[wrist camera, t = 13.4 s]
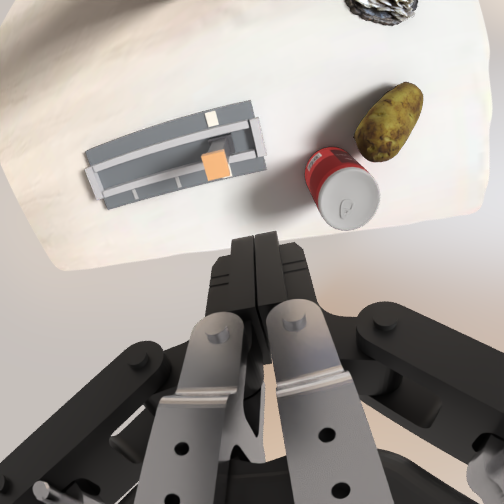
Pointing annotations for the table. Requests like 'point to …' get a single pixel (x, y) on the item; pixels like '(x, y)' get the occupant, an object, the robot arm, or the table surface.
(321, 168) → the canned food
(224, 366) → the robot arm
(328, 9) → the table surface
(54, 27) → the table surface
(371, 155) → the potato
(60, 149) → the table surface
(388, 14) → the grey rough oval piece
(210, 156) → the fader tab
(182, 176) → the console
